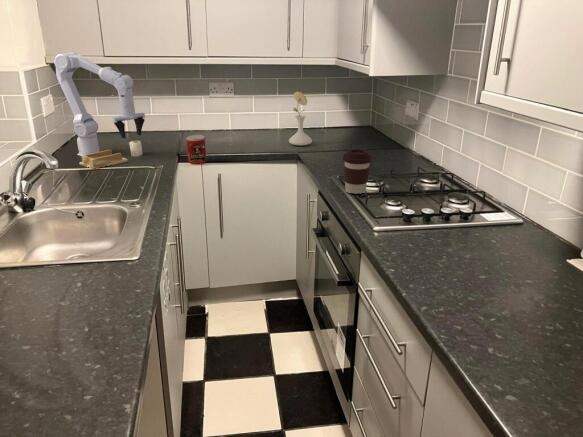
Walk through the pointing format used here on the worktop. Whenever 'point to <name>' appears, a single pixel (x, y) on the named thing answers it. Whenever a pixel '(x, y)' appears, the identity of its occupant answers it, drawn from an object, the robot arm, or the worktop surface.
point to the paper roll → (136, 148)
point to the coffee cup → (356, 170)
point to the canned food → (196, 149)
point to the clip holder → (102, 159)
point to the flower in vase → (300, 123)
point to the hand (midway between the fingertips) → (131, 136)
